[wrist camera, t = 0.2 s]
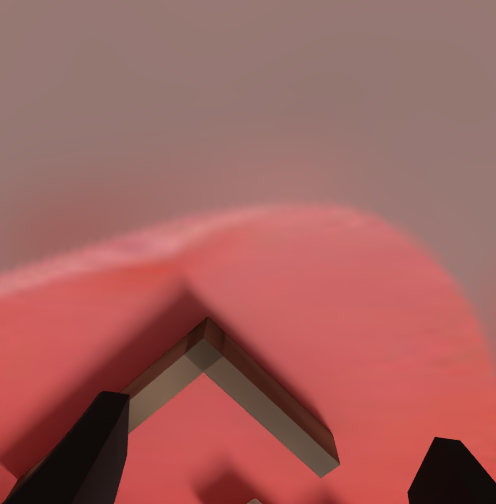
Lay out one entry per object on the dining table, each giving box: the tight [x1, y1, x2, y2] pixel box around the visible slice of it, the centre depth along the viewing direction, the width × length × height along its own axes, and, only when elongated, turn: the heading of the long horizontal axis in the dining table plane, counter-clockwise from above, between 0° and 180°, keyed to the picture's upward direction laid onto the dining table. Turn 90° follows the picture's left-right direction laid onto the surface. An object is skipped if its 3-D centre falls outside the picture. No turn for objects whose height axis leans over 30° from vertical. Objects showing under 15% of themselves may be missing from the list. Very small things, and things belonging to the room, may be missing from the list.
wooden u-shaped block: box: [6, 317, 340, 499], centre depth 23 cm, size 14×9×2 cm, turn 133°
